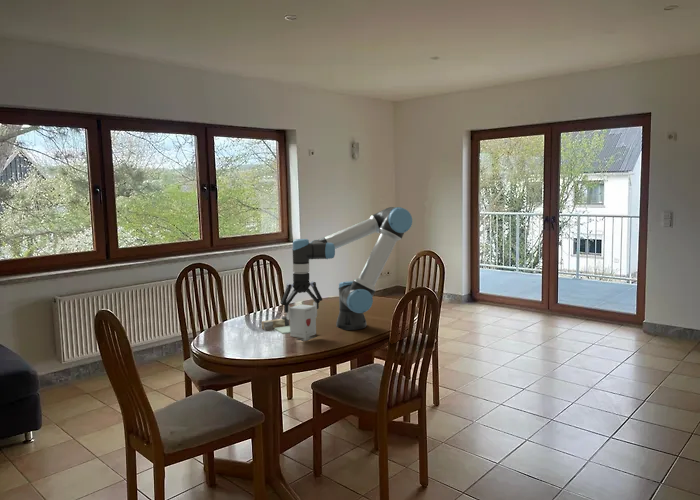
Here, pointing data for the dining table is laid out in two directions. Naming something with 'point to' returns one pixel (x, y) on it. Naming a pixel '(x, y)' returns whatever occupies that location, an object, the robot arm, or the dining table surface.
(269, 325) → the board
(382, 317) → the dining table surface
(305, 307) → the supplement box
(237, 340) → the dining table surface
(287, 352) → the dining table surface
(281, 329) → the seat pad
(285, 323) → the leg bar
